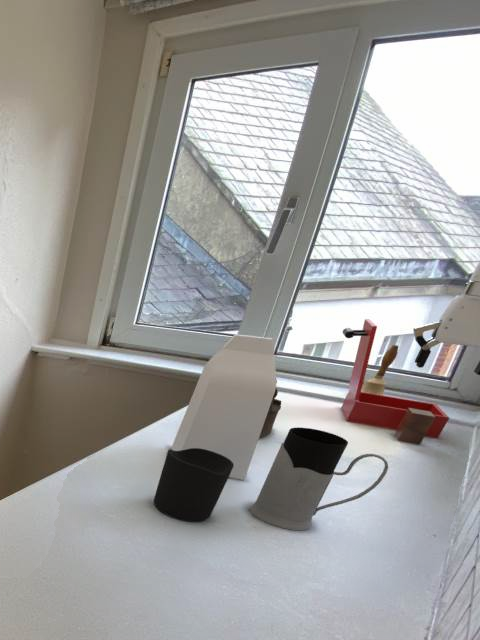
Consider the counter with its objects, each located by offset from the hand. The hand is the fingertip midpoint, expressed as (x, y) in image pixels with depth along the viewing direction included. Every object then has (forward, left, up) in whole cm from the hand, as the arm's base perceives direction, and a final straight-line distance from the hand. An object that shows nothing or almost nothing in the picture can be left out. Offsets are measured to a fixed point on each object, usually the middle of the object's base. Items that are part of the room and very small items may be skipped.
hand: (447, 370), depth 124 cm
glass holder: (+24, +69, -17) cm, 75 cm away
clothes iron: (+32, +21, -17) cm, 42 cm away
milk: (+39, +51, -17) cm, 67 cm away
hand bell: (+3, -39, -17) cm, 43 cm away
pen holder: (+41, +78, -17) cm, 90 cm away
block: (+1, 0, -17) cm, 17 cm away
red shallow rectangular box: (+2, -14, -17) cm, 22 cm away
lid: (+12, -14, -2) cm, 19 cm away
